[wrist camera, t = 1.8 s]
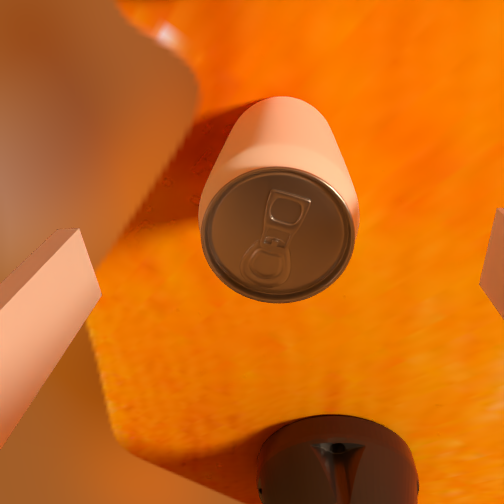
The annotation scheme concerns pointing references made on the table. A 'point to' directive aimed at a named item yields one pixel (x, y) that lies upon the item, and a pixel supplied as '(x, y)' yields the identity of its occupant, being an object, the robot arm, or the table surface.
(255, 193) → the can
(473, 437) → the table surface
